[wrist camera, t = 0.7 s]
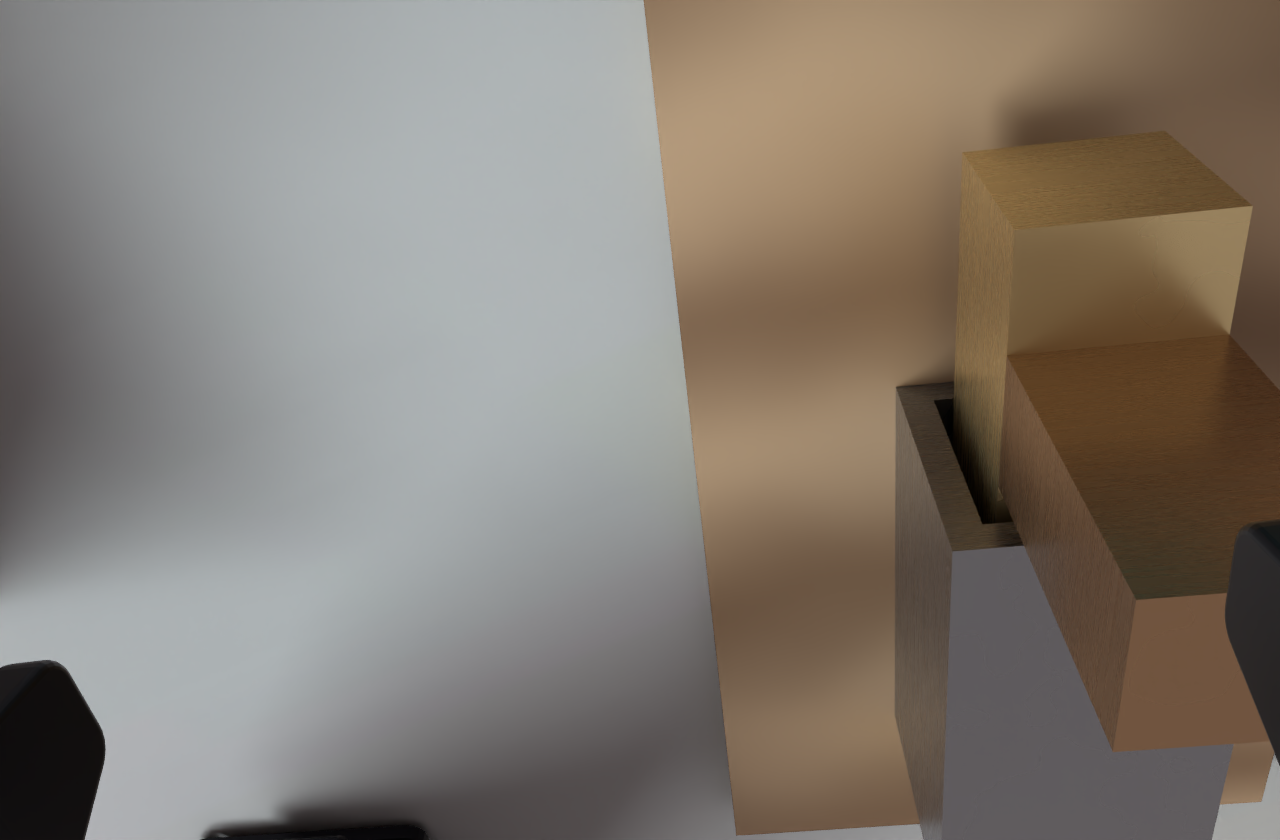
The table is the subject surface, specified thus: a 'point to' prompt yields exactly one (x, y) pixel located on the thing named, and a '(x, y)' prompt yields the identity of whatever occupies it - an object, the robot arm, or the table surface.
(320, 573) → the table surface
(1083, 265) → the l-shaped wooden step
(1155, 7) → the base board
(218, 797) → the table surface
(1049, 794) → the sleeve
